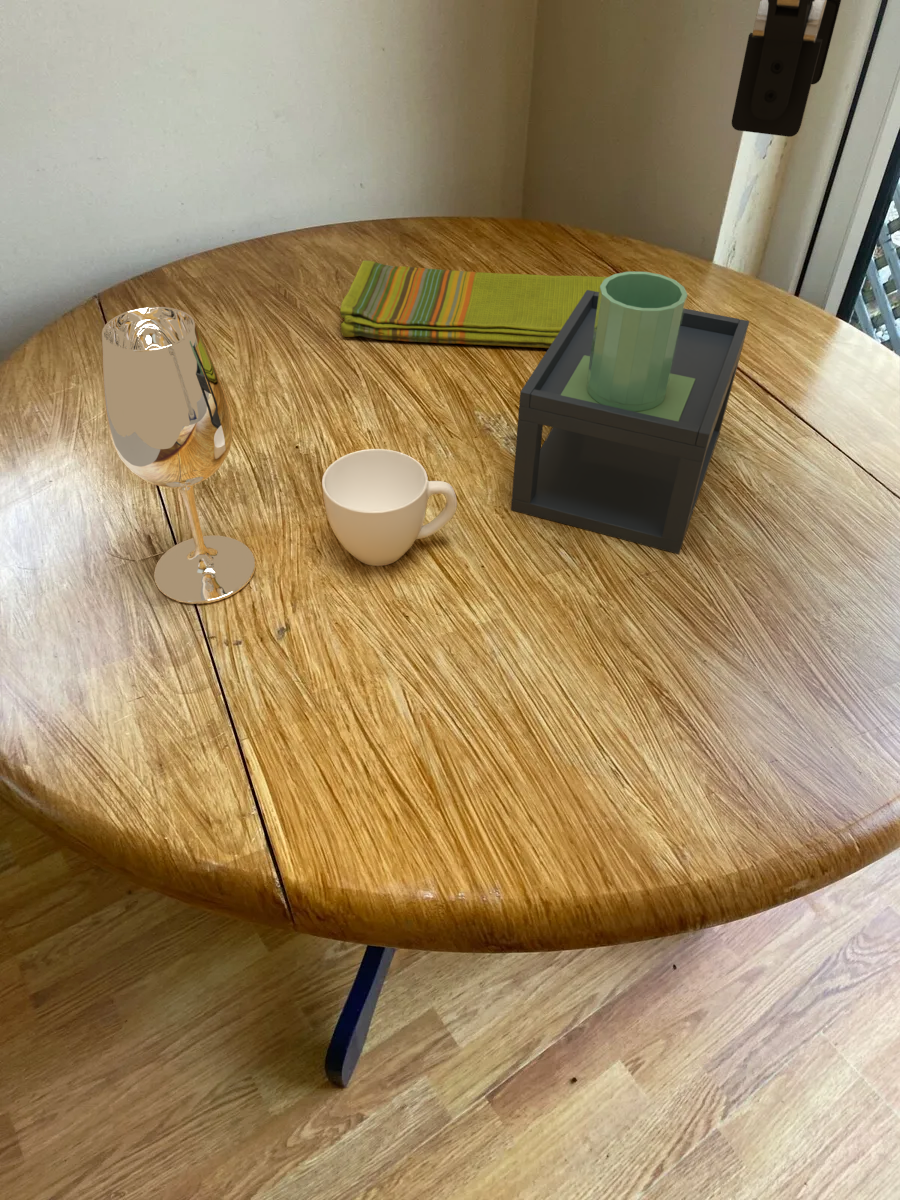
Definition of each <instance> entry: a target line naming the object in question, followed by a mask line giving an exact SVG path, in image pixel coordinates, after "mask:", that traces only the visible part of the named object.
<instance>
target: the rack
mask: <svg viewBox="0 0 900 1200" xmlns="http://www.w3.org/2000/svg"><path fill="white" fill-rule="evenodd" d="M598 297H599V292H595V291H590V290H587V291H586V292H585V294H584V295H583V297H582V298H581V300H580V301H579V303H578V304H577V306H576V308H575V309H574V311H573V312H572V314H571V315H570V317H569V318H568V320H567V321H566V323H565V324H564V326H563V327H562V329H561V330H560V332H559V334H558V335H557V337H556V338H555V340H554V341H553V343H552V344H551V346H550V347H549V348H547V350H546V352H545V353H544V355H543V357H542V358H541V359H540V361H539V363H538V364H537V365H536V367H535V369H534V370H533V372H532V374H531V375H530V376H529V378H528V380H527V381H526V383H525V384H524V385H523V387H522V388H521V390H520V392H519V403H518V414H517V416H518V417H517V429H516V442H515V454H514V465H513V466H514V467H513V477H512V478H513V479H512V480H513V481H512V491H511V503H510V510H511V511H514V512H517V513H520V514H524V515H529V516H533V517H536V518H541V519H545V520H547V521H551V522H555V523H559V524H563V525H567V526H571V527H575V528H578V529H582V530H586V531H589V532H594V533H598V534H601V535H604V536H609V537H612V538H616V539H620V540H624V541H627V542H632V543H636V544H639V545H643V546H646V547H651V548H654V549H658V550H662V551H666V552H670V553H674V554H678V555H679V554H680V553H681V549H682V546H683V543H684V541H685V538H686V536H687V531H688V528H689V526H690V523H691V519H692V516H693V513H694V510H695V507H696V504H697V502H698V500H699V496H700V493H701V490H702V487H703V484H704V481H705V478H706V475H707V472H708V469H709V466H710V463H711V460H712V457H713V454H714V452H715V448H716V444H717V442H718V440H719V436H720V433H721V430H722V425H723V422H724V418H725V415H726V411H727V407H728V403H729V399H730V396H731V392H732V388H733V384H734V381H735V377H736V374H737V369H738V367H739V361H740V360H741V359H740V358H741V356H742V355H741V354H742V351H743V347H744V343H745V340H746V336H747V332H748V328H749V324H750V320H746V319H741V318H737V317H731V316H725V315H721V314H716V313H710V312H705V311H700V310H695V309H689V308H685V310H684V315H683V320H682V324H681V329H680V334H679V339H678V343H677V348H676V353H675V358H674V362H673V367H672V372H671V377H670V381H669V386H668V389H667V393H666V397H665V399H664V401H663V402H662V403H661V404H659V405H658V406H656V407H654V408H652V409H648V410H644V411H629V410H625V409H620V408H616V407H611V406H607V405H602V404H600V403H598V402H597V401H596V400H594V399H593V398H592V397H591V396H590V394H589V393H588V390H587V382H588V380H587V377H588V369H589V362H590V355H591V348H592V340H593V333H594V326H595V318H596V311H597V304H598ZM544 426H546V427H551V430H550V431H549V433H548V435H547V436H546V438H545V440H544V442H543V444H542V439H543V430H544V429H543V428H544Z"/></svg>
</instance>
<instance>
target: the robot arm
mask: <svg viewBox="0 0 900 1200" xmlns="http://www.w3.org/2000/svg"><path fill="white" fill-rule="evenodd" d="M841 3H842V0H760V1H759V5H758V8H757V11H756V14H755V20H754V23H753V27H752V32H750V33H749V34H748V36H747V37H748V38H747V43H746V48H745V52H744V58H743V63H742V68H741V73H740V77H739V81H738V82H739V83H738V88H737V92H736V97H735V103H734V107H733V113H732V117H731V127H732V128H733V129H734V130H735V131H738V132H747V133H754V134H755V133H756V134H762V135H770V136H771V135H772V136H780V137H788V138H790V137H794V136H796V135H797V134H798V133H799V131H800V129H801V127H802V123H803V118H804V115H805V110H806V107H807V103H808V98H809V94H810V91H811V88H812V85H816V84H817V83H819V82H820V81H821V79H822V76H823V73H824V69H825V66H826V61H827V58H828V53H829V51H830V50H829V49H830V45H831V43H832V39H833V34H834V30H835V25H836V22H837V19H838V15H839V10H840V7H841Z"/></svg>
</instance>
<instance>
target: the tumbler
mask: <svg viewBox="0 0 900 1200" xmlns="http://www.w3.org/2000/svg"><path fill="white" fill-rule="evenodd" d="M607 277H608V278H606V279H604V281H603V282H602V284H601V285H600V289H599V297H598V304H597V311H596V318H595V326H594V333H593V340H592V348H591V355H590V362H589V369H588V377H587V380H588V382H587V390H588V393H589V394H590V396H591V397H592V398H593V399H594V400H596V401H597V402H598V403H600V404H602V405H607V406H611V407H616V408H620V409H625V410H629V411H644V410H648V409H652V408H654V407H656V406H658V405H659V404H661V403H662V402H663V401H664V399H665V397H666V393H667V389H668V386H669V381H670V377H671V372H672V367H673V362H674V358H675V353H676V348H677V343H678V339H679V334H680V329H681V324H682V320H683V315H684V310H685V309H686V305H687V300H688V292H687V290H686V288H685V286H684V285H683V284H681V283H680V282H679V281H678V280H676V279H674V278H671V277H668V276H666V275H664V274H660V273H656V272H649V271H623V272H618V273H614V274H612V275H609V276H607Z"/></svg>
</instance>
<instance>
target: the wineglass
mask: <svg viewBox="0 0 900 1200" xmlns="http://www.w3.org/2000/svg"><path fill="white" fill-rule="evenodd" d="M203 339H204V338H203V336H202V335H201V332H200V331H199V328H198V326H197V324H196V321H195V319H194V318H193V317H192V316H191V315H190V314H188V313H187V312H185V311H183V310H180V309H178V308H174V307H168V306H148V307H141V308H135V309H132V310H128V311H125V312H122V313H120V314H118V315H116V316H114V317H113V318H111V319H110V320H109V321H107V322H106V324H105V325H104V326H103V328H102V331H101V357H102V358H101V359H102V360H101V361H102V362H101V363H102V364H101V365H102V382H103V397H104V407H105V414H106V415H105V416H106V420H107V425H108V426H107V427H108V430H109V435H110V439H111V443H112V445H113V447H114V449H115V452H116V454H117V456H118V457H119V459H120V460H121V461H122V463H123V464H124V465H125V467H126V468H127V469H128V470H129V471H130V472H131V473H133V474H134V475H136V476H137V477H138V478H140V479H142V480H143V481H145V482H146V483H149V484H151V485H154V486H158V487H162V488H166V489H177V490H179V493H180V494H181V495H180V496H181V497H182V500H183V503H184V507H185V510H186V514H187V519H188V523H189V527H190V530H191V535H192V537H191V538H189V539H186V540H182V541H181V542H179V543H177V544H175V545H173V546H172V547H171V548H169V549H167V550H166V552H164V553H163V554H162V555H161V556H160V558H159V560H158V561H157V562H156V565H155V568H154V572H153V579H154V584H155V585H156V587H157V588H158V590H159V591H160V592H161V593H162V594H163V596H166V597H167V598H169V599H171V600H173V601H176V602H178V603H183V604H188V605H189V604H191V605H203V604H211V603H215V602H219V601H222V600H224V599H227V598H230V597H231V596H233V595H235V594H237V593H238V592H239V591H241V590H242V589H244V588H245V587H246V586H247V585H248V583H250V581H251V580H252V577H254V574H255V571H256V566H257V563H256V558H255V554H254V553H253V551H252V550H251V548H250V547H248V546H247V545H246V544H245V543H244V542H242V541H240V540H239V539H236V538H234V537H230V536H227V535H226V536H225V535H215V534H211V535H210V534H209V535H203V532H202V531H203V530H202V527H201V522H200V518H199V514H198V509H197V505H196V499H195V486H196V485H197V486H198V484H199V485H200V484H201V483H203V482H204V481H206V480H207V479H209V478H211V476H212V475H214V474H215V473H216V472H217V471H218V470H219V469H220V468H221V466H223V464H224V462H225V460H226V459H227V458H228V455H229V453H230V450H231V446H232V442H233V437H234V436H233V433H234V432H233V419H232V414H231V410H230V406H229V402H228V399H227V395H226V393H225V391H224V387H223V385H222V382H221V378H220V377H219V374H218V372H217V370H216V367H215V364H214V362H213V360H212V357H211V355H210V353H209V350H208V348H207V346H206V343H205V341H204V340H203Z"/></svg>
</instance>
